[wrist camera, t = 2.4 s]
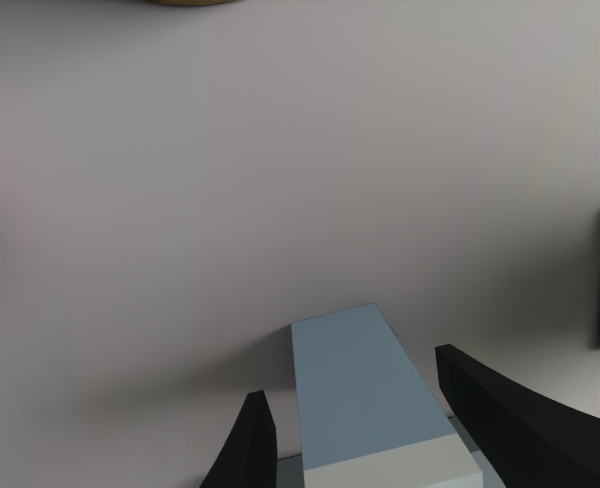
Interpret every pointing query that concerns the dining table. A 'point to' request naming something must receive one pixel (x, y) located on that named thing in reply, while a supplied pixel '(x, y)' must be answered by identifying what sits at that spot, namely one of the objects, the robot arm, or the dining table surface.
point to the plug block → (370, 410)
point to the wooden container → (188, 2)
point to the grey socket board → (292, 472)
